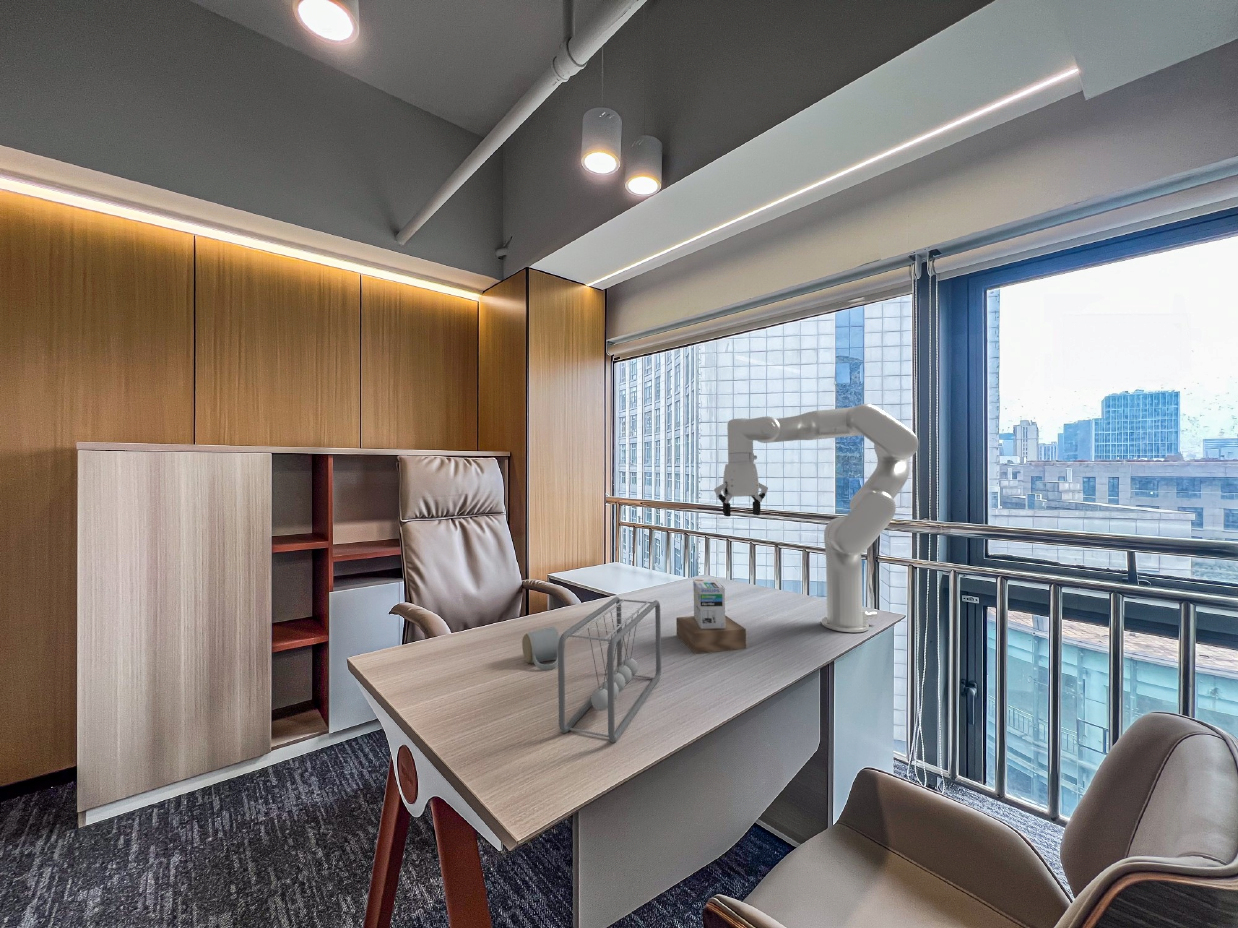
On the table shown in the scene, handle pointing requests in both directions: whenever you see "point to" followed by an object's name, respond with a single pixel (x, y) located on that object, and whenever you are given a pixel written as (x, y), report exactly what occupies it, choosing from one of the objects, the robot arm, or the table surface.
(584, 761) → the table surface
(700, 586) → the light bulb box
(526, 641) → the ceramic mug
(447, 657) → the table surface
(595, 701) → the newton's cradle
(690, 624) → the walnut block
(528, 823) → the table surface
